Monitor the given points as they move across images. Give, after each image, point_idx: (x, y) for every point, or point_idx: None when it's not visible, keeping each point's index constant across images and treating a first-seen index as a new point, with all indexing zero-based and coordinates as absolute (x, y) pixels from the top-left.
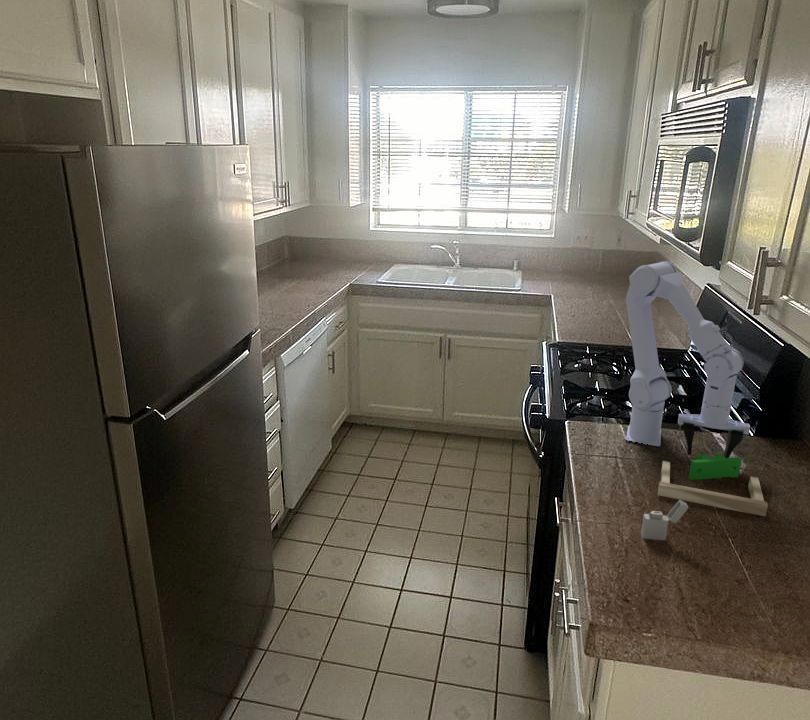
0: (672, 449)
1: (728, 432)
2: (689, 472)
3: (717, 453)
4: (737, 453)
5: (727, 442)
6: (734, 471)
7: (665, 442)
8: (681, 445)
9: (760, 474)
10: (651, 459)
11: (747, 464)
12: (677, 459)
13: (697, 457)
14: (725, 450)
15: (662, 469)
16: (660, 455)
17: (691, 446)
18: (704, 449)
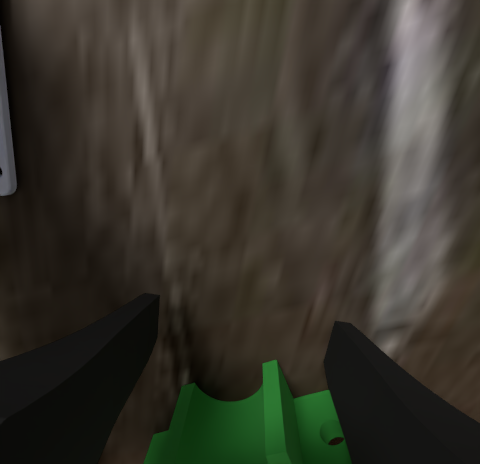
0: (88, 199)
1: (447, 455)
2: (145, 460)
3: (272, 462)
4: (464, 153)
5: (380, 416)
6: (341, 435)
7: (45, 108)
8: (138, 127)
9: (472, 363)
10: (3, 330)
11: (457, 281)
12: (114, 305)
13: (162, 462)
14: (350, 366)
15: None
16: (36, 283)
17: (126, 395)
18: (270, 149)
